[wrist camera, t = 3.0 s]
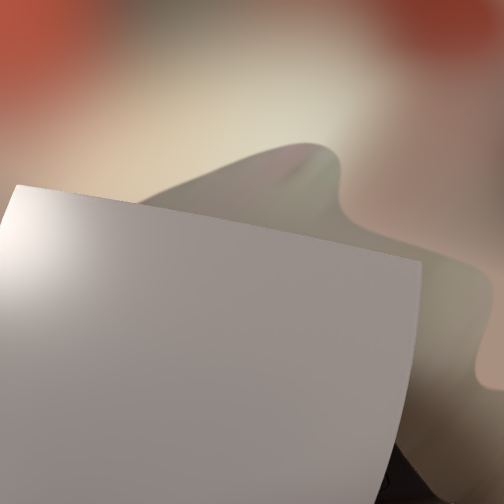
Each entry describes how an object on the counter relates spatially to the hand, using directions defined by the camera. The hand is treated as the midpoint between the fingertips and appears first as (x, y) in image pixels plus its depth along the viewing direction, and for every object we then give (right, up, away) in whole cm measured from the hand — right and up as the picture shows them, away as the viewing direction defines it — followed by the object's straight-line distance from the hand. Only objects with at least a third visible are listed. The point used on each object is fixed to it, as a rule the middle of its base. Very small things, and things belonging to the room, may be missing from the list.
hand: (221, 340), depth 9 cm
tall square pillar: (0, -3, +6) cm, 7 cm away
